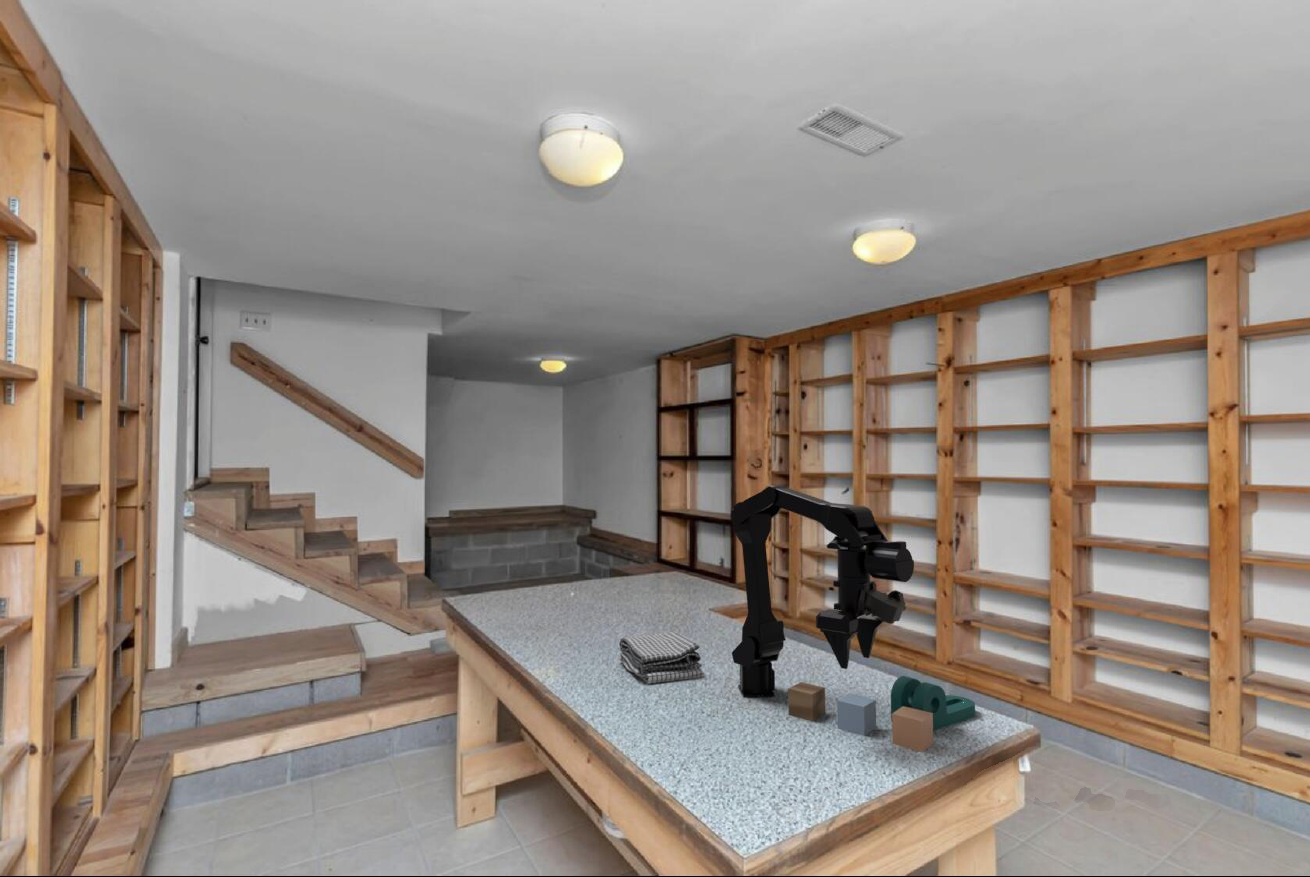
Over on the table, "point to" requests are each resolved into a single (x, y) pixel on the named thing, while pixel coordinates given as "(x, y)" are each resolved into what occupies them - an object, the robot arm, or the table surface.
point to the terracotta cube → (912, 728)
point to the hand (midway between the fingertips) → (855, 662)
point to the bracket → (930, 701)
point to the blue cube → (856, 714)
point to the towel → (661, 657)
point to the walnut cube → (806, 701)
